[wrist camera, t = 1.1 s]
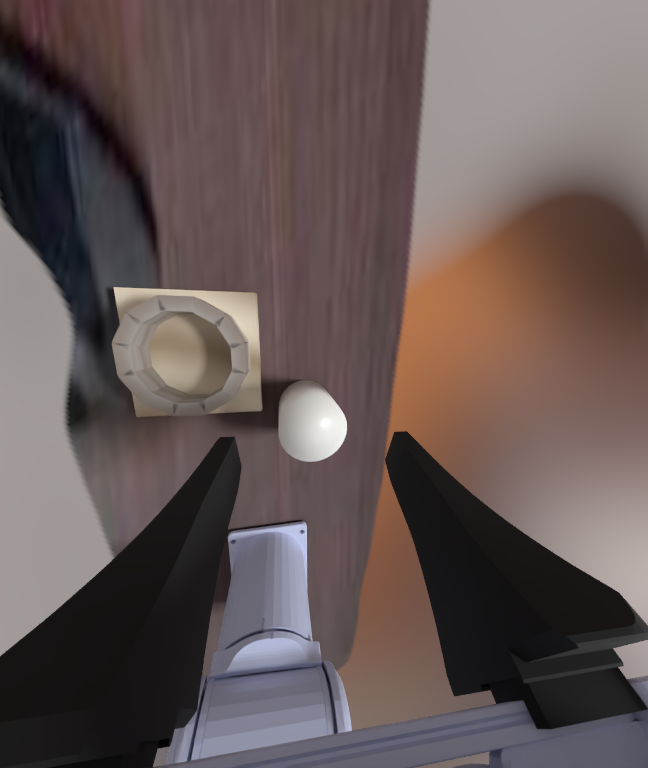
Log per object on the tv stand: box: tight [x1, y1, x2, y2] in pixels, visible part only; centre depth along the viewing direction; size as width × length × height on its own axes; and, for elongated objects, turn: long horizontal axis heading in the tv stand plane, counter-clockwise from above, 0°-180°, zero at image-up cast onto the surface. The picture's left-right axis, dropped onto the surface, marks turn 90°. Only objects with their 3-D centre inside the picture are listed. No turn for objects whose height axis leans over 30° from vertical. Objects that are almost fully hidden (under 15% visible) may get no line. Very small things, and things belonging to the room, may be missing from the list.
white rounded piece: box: [278, 380, 347, 462], centre depth 20 cm, size 5×5×6 cm
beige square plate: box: [112, 287, 263, 417], centre depth 18 cm, size 10×10×4 cm
